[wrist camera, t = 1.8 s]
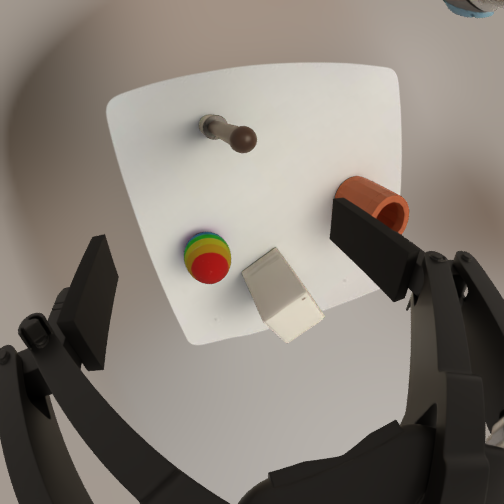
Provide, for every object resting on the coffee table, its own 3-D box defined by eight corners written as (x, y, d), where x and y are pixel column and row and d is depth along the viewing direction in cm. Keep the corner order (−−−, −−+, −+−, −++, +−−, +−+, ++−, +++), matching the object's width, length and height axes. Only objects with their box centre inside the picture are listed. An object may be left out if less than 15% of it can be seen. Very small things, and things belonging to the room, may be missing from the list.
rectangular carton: (239, 271, 56) (261, 322, 44) (275, 245, 55) (307, 290, 43) (262, 296, 61) (286, 345, 49) (295, 273, 60) (326, 317, 48)
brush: (212, 110, 39) (252, 111, 20) (225, 127, 41) (275, 146, 22) (194, 123, 40) (215, 137, 20) (207, 140, 42) (240, 170, 22)
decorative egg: (223, 222, 50) (235, 248, 41) (228, 260, 54) (240, 291, 46) (179, 230, 48) (182, 259, 40) (187, 268, 52) (192, 301, 44)
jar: (363, 167, 52) (402, 184, 42) (377, 203, 57) (412, 225, 47) (326, 194, 53) (361, 217, 43) (344, 229, 58) (376, 256, 48)
